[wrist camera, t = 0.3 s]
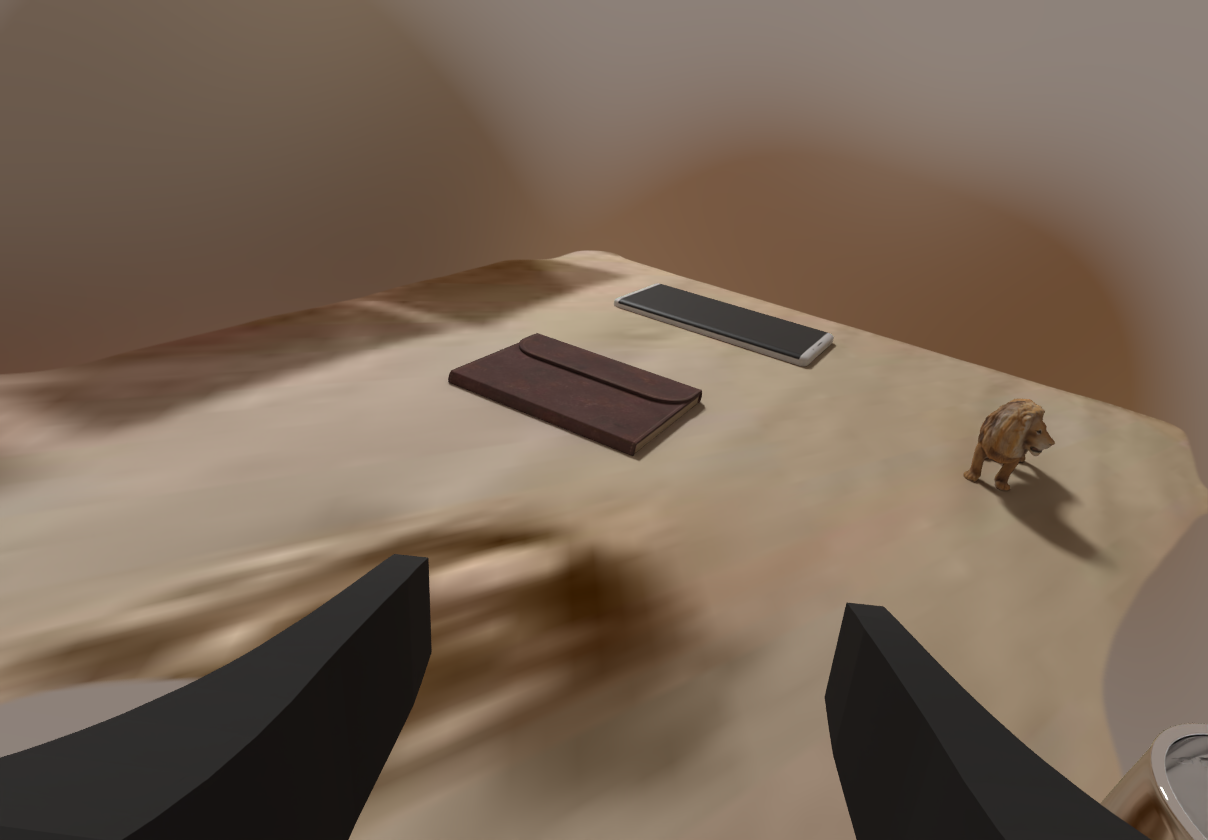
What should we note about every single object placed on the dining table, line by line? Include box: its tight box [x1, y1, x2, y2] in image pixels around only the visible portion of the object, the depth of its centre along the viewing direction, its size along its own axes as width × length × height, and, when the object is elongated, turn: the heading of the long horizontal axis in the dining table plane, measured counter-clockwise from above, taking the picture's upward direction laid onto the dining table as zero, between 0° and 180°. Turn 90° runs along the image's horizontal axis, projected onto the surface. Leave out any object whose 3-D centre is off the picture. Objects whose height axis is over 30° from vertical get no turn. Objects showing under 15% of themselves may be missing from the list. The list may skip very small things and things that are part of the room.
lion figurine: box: [964, 399, 1055, 491], centre depth 67 cm, size 15×5×9 cm, turn 150°
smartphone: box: [614, 284, 834, 366], centre depth 97 cm, size 13×27×2 cm, turn 59°
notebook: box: [448, 333, 702, 456], centre depth 71 cm, size 15×20×2 cm
